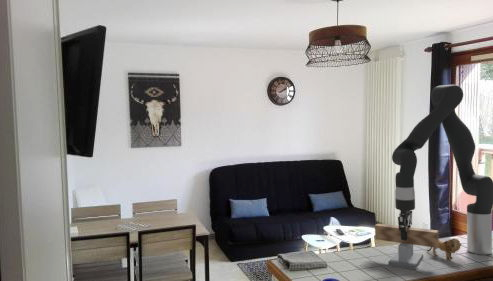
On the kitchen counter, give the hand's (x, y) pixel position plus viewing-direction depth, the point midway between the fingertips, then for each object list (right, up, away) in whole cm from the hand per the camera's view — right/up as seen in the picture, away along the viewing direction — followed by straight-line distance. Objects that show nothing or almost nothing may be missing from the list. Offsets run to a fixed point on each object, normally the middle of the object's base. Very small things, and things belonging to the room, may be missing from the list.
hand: (405, 238), depth 162 cm
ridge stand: (0, -10, 0) cm, 10 cm away
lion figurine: (+18, -9, +4) cm, 21 cm away
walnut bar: (0, -2, 0) cm, 2 cm away
